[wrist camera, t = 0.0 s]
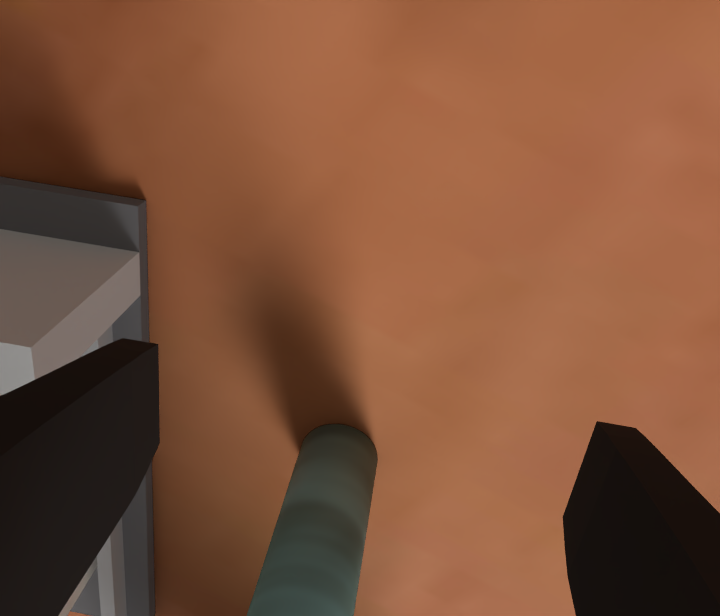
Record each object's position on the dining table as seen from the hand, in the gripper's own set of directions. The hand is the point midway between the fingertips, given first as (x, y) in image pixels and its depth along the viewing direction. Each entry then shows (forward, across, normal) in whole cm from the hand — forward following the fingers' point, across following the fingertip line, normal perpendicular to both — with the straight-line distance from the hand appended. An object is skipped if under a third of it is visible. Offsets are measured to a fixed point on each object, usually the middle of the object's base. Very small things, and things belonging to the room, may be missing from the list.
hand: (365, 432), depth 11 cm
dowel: (+10, +1, +9) cm, 14 cm away
